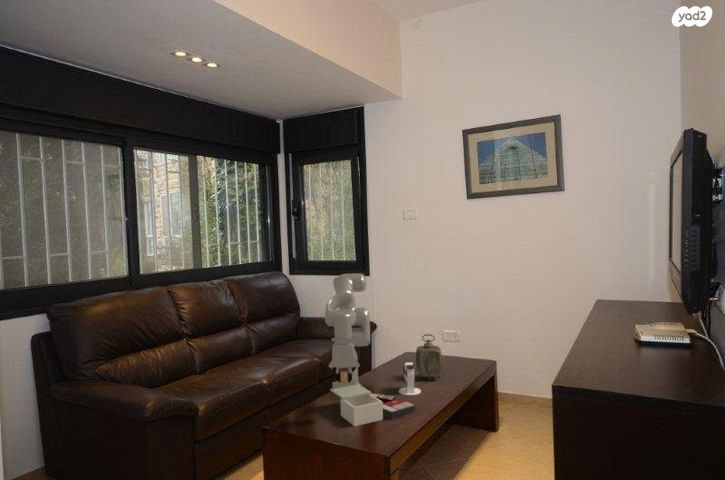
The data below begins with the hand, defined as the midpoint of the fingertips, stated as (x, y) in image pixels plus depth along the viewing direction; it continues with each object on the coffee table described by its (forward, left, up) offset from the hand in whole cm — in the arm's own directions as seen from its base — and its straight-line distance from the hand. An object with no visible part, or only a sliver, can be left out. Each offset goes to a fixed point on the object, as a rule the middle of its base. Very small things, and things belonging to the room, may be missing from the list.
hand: (344, 381), depth 212 cm
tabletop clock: (-27, +64, -17) cm, 72 cm away
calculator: (+4, +23, -18) cm, 29 cm away
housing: (+2, +7, -17) cm, 18 cm away
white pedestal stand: (-16, +44, -17) cm, 50 cm away
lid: (-9, +7, -9) cm, 14 cm away
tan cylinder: (0, 0, -1) cm, 1 cm away
